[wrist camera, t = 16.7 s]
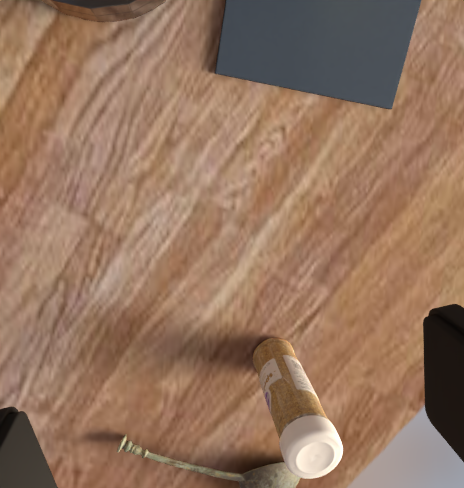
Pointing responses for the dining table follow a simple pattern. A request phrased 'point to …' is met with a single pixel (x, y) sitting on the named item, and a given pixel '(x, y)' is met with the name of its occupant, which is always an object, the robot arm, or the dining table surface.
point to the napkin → (319, 45)
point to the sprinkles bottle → (296, 412)
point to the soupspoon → (251, 483)
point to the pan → (104, 8)
